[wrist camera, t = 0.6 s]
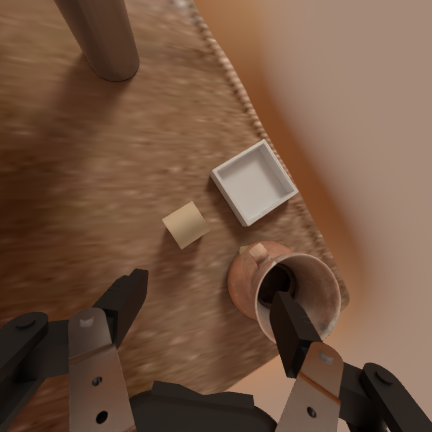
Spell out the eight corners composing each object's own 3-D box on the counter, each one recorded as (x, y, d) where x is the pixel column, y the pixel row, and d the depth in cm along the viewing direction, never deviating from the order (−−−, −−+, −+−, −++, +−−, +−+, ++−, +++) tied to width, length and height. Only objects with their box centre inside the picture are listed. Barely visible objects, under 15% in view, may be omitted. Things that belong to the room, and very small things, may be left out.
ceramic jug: (205, 263, 38) (218, 283, 24) (264, 220, 41) (305, 216, 26) (257, 338, 39) (299, 400, 25) (312, 291, 41) (377, 324, 27)
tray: (209, 175, 40) (212, 170, 36) (257, 146, 42) (264, 138, 38) (242, 226, 40) (248, 226, 36) (289, 195, 42) (298, 191, 39)
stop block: (168, 223, 38) (161, 219, 28) (190, 209, 39) (192, 200, 29) (182, 245, 38) (181, 249, 28) (204, 230, 39) (210, 229, 29)
